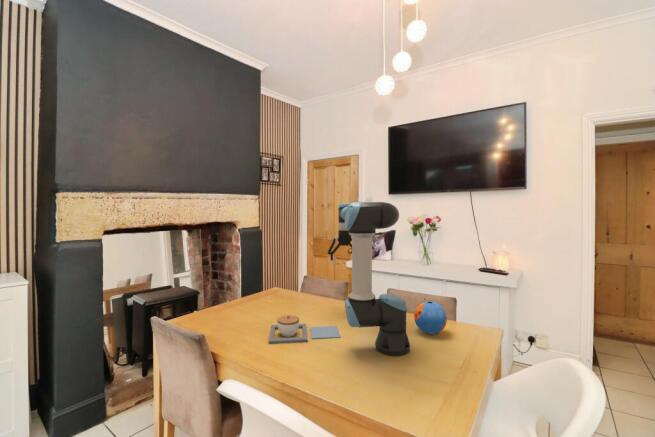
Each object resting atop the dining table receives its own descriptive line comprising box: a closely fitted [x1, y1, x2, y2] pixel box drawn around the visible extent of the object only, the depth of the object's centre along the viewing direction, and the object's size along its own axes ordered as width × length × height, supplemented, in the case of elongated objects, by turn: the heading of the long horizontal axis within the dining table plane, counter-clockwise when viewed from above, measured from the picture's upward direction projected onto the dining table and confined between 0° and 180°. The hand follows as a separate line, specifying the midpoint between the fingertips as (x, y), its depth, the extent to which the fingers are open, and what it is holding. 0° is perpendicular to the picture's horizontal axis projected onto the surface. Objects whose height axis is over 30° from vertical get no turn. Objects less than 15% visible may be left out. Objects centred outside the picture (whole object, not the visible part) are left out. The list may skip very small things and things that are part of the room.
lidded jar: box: [276, 314, 300, 338], centre depth 156 cm, size 11×11×9 cm
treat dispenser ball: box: [413, 301, 448, 335], centre depth 158 cm, size 16×15×15 cm
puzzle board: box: [267, 323, 309, 345], centre depth 157 cm, size 20×18×1 cm
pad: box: [309, 325, 342, 340], centre depth 158 cm, size 14×14×1 cm
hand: (344, 265), depth 187 cm, fingers open, 13 cm apart
